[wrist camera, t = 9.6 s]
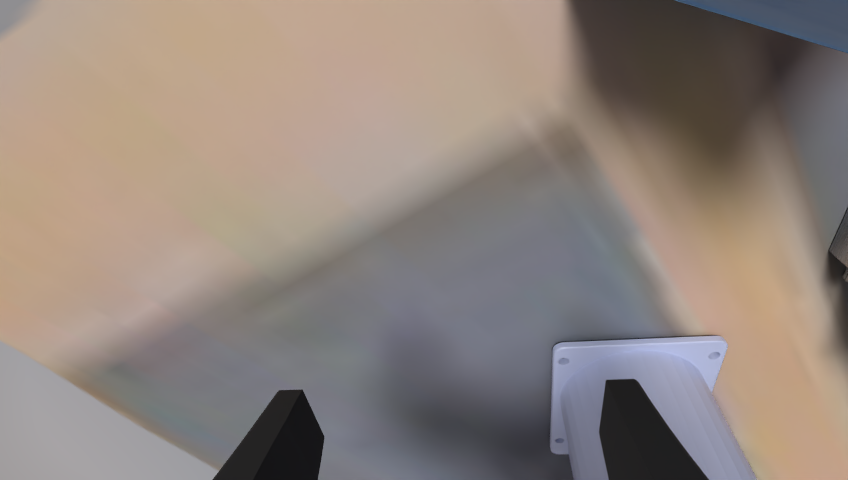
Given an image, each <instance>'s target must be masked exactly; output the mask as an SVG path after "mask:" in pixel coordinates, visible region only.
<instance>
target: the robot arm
mask: <svg viewBox="0 0 848 480" xmlns="http://www.w3.org/2000/svg"><path fill="white" fill-rule="evenodd" d="M727 348H728V344H727V343H726V341H725V340H724V338H723V337H721V336H696V337H673V338H650V339H628V340H605V341H582V342H562V343H558V344H556V345H555V346H554V347H553V350H552V384H551V419H550V449H551V452H553V453H555V454H569V458H570V463H571V468H572V473H573V478H574V480H757V478H756V476H755V474H754V472H753V470H752V468H751V466H750V465H749V463H748V461H747V459H746V457H745V455H744V453H743V451H742V449H741V448H740V446H739V444H738V442H737V440H736V438H735V436H734V434H733V432H732V431H731V429H730V427H729V425H728V423H727V421H726V419H725V417H724V415H723V414H722V412H721V410H720V408H719V406H718V404H717V402H716V400H715V398H714V396H713V395H712V391H713V388H714V385H715V382H716V379H717V376H718V374H719V371H720V368H721V365H722V362H723V359H724V356H725V353H726V351H727ZM561 358H564V359H561ZM323 443H324V435H323V433H322V431H321V429H320V426H319V424H318V422H317V420H316V418H315V416H314V413H313V411H312V409H311V407H310V405H309V403H308V400H307V398H306V396H305V394H304V392H303V390H279V391H278V392H277V394H276V395H275V396H274V398H273V399H272V400H271V402H270V403H269V404H268V406H267V407H266V409H265V410H264V411H263V413H262V414H261V416H260V417H259V418H258V420H257V421H256V422H255V424H254V425H253V427H252V428H251V429H250V431H249V432H248V433H247V435H246V436H245V438H244V439H243V440H242V442H241V443H240V444H239V446H238V447H237V448H236V450H235V451H234V452H233V454H232V455H231V456H230V458H229V459H228V460H227V462H226V463H225V464H224V465H223V467H222V468H221V469H220V471H219V472H218V473H217V475H216V476H215V477H214V479H213V480H318V474H319V468H320V463H321V456H322V450H323Z"/></svg>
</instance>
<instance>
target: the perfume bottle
mask: <svg viewBox="0 0 848 480" xmlns="http://www.w3.org/2000/svg"><path fill="white" fill-rule="evenodd" d="M675 1H678V2H682V3H685V4H688V5H691V6H695V7H698V8H701V9H704V10H708V11H711V12H714V13H718V14H721V15H724V16H727V17H731V18H734V19H737V20H741V21H744V22H747V23H750V24H754V25H757V26H760V27H764V28H767V29H770V30H773V31H777V32H780V33H783V34H787V35H790V36H793V37H796V38H800V39H803V40H806V41H809V42H813V43H816V44H819V45H823V46H826V47H829V48H832V49H836V50H839V51H842V52H846V53H848V0H675Z"/></svg>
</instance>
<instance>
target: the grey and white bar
mask: <svg viewBox="0 0 848 480" xmlns="http://www.w3.org/2000/svg"><path fill="white" fill-rule="evenodd" d="M829 251H830V252H831V253H832V254H833V255H834V256H835V257H836V258H837V259H839V260H840V261H841V262H842V263H843V264H844V265H845V266H846V267H847V269H846V271H845V273H844V275H843V277H842V278H843V279H845V280H846V281H847V282H848V210H847V212H846V214H845V216H844V219H843V221H842V223H841V225H840V227H839V230H838V232H837V234H836V236H835V238H834V241H833V243H832V245H831V247H830V250H829Z"/></svg>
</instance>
